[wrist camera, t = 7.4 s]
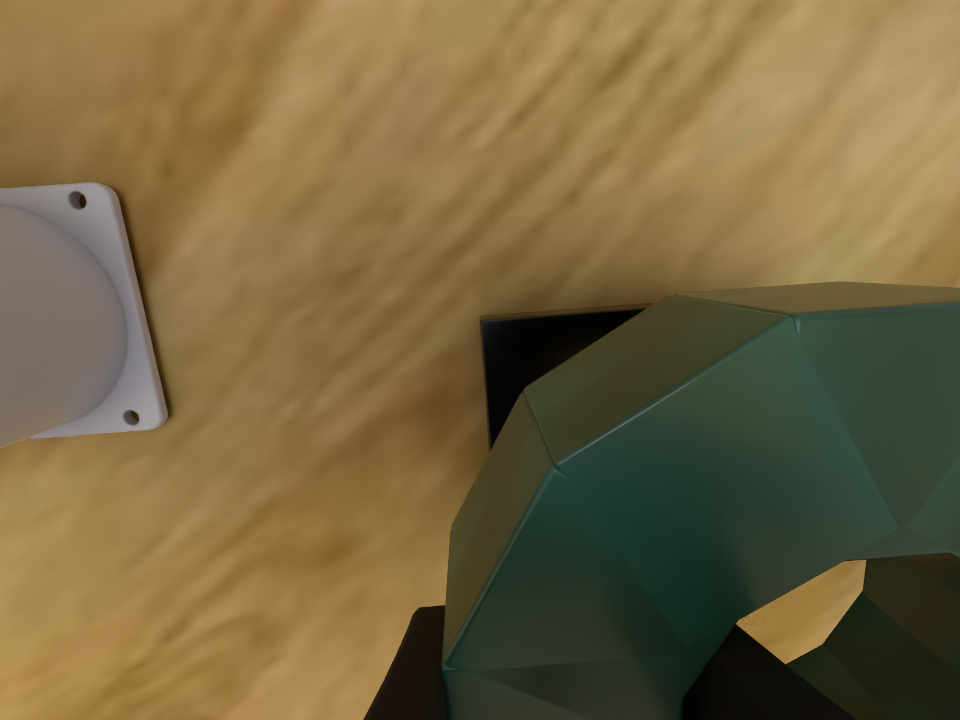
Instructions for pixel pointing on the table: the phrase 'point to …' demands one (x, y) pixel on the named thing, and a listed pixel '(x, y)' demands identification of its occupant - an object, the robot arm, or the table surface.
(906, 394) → the ring
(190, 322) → the table surface
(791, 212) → the table surface
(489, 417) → the peg stand
